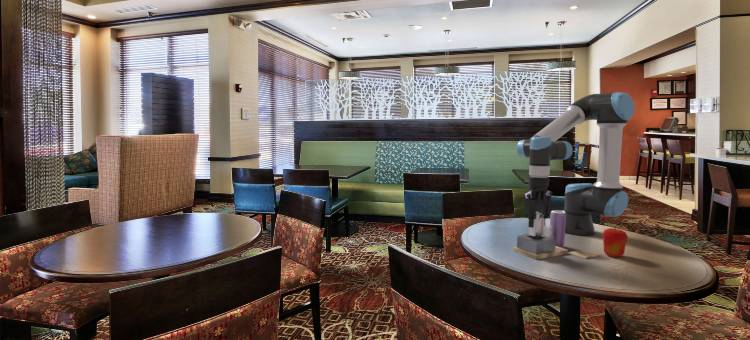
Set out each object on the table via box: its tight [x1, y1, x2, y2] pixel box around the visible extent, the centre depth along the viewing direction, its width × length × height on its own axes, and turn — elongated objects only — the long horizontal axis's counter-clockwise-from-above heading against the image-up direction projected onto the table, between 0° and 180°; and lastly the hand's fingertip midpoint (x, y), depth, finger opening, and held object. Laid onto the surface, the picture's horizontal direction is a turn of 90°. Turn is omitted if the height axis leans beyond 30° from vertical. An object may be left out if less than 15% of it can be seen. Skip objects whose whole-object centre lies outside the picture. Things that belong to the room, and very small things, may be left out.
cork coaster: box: [568, 249, 598, 260], centre depth 162 cm, size 7×7×1 cm
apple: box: [602, 226, 629, 258], centre depth 161 cm, size 9×8×12 cm
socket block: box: [516, 233, 555, 255], centre depth 164 cm, size 10×10×5 cm
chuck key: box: [531, 211, 544, 240], centre depth 163 cm, size 6×4×12 cm
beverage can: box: [548, 209, 566, 249], centre depth 172 cm, size 6×6×15 cm
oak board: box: [512, 246, 569, 260], centre depth 165 cm, size 17×12×2 cm
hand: (536, 234), depth 164 cm, fingers closed on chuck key, 4 cm apart
